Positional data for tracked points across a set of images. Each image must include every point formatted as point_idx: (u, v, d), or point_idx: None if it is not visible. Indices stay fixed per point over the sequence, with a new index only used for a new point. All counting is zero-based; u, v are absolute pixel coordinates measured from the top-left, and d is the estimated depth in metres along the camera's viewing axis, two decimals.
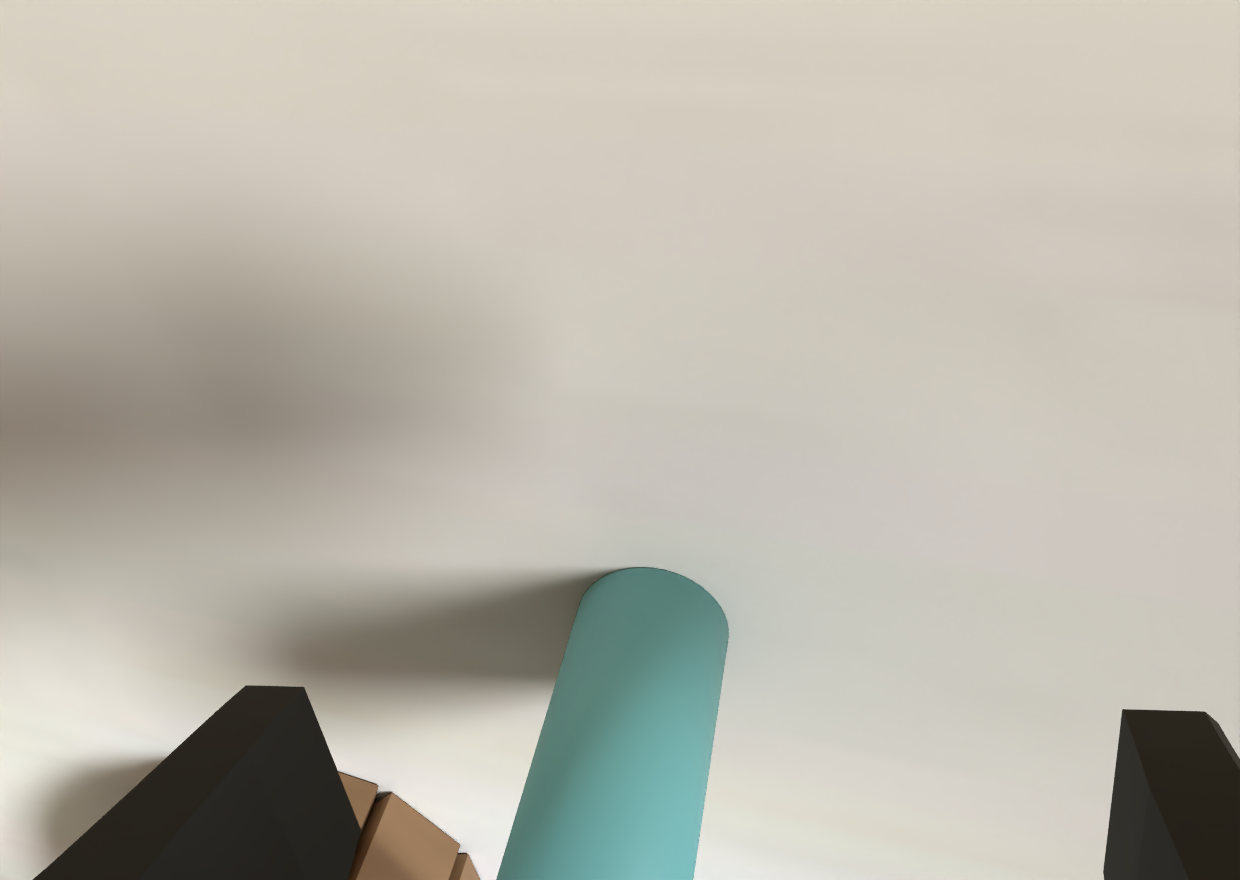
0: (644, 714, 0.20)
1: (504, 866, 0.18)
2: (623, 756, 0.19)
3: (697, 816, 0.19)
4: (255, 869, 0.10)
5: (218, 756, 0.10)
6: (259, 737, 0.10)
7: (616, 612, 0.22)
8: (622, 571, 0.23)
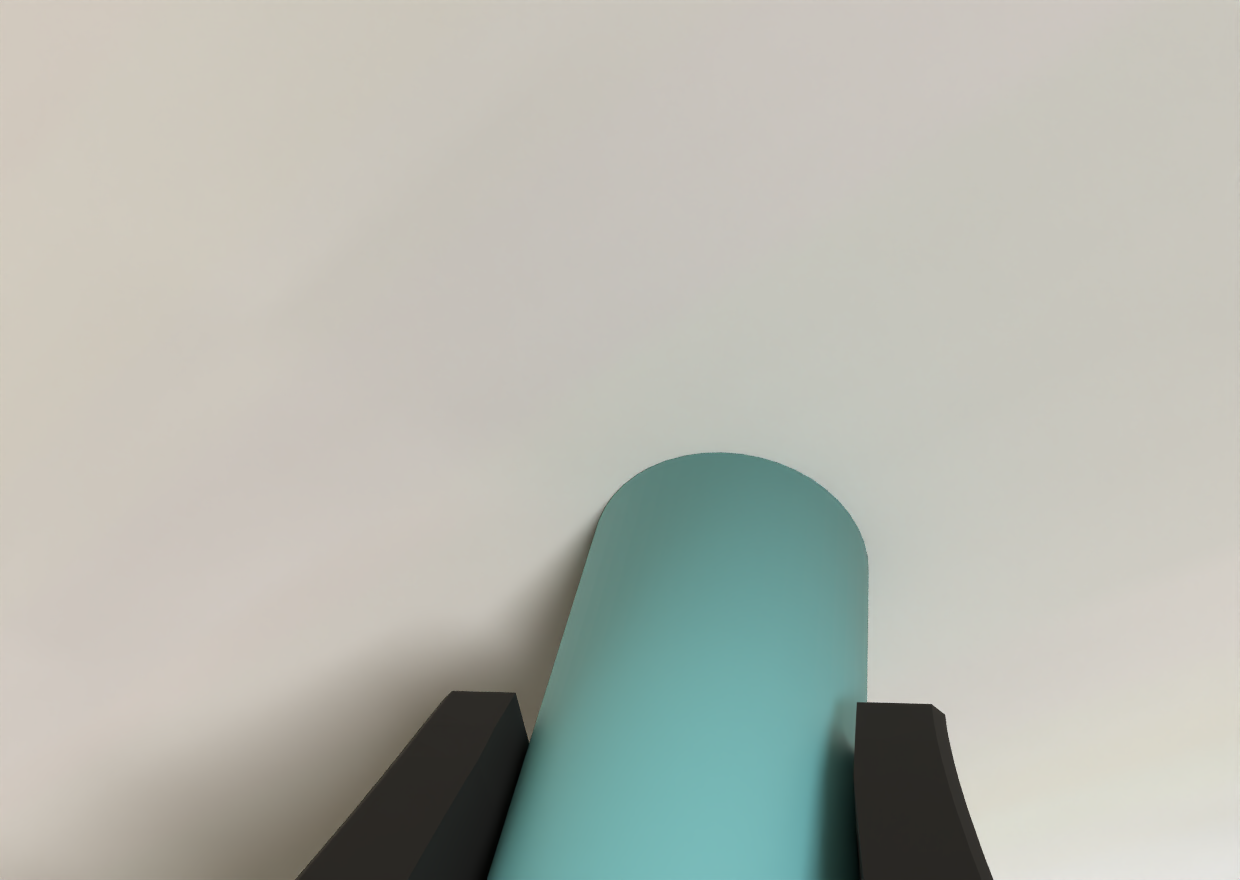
0: (599, 718, 0.09)
1: None
2: (553, 824, 0.09)
3: (777, 859, 0.08)
4: None
5: (448, 766, 0.09)
6: (485, 746, 0.10)
7: None
8: (604, 513, 0.13)
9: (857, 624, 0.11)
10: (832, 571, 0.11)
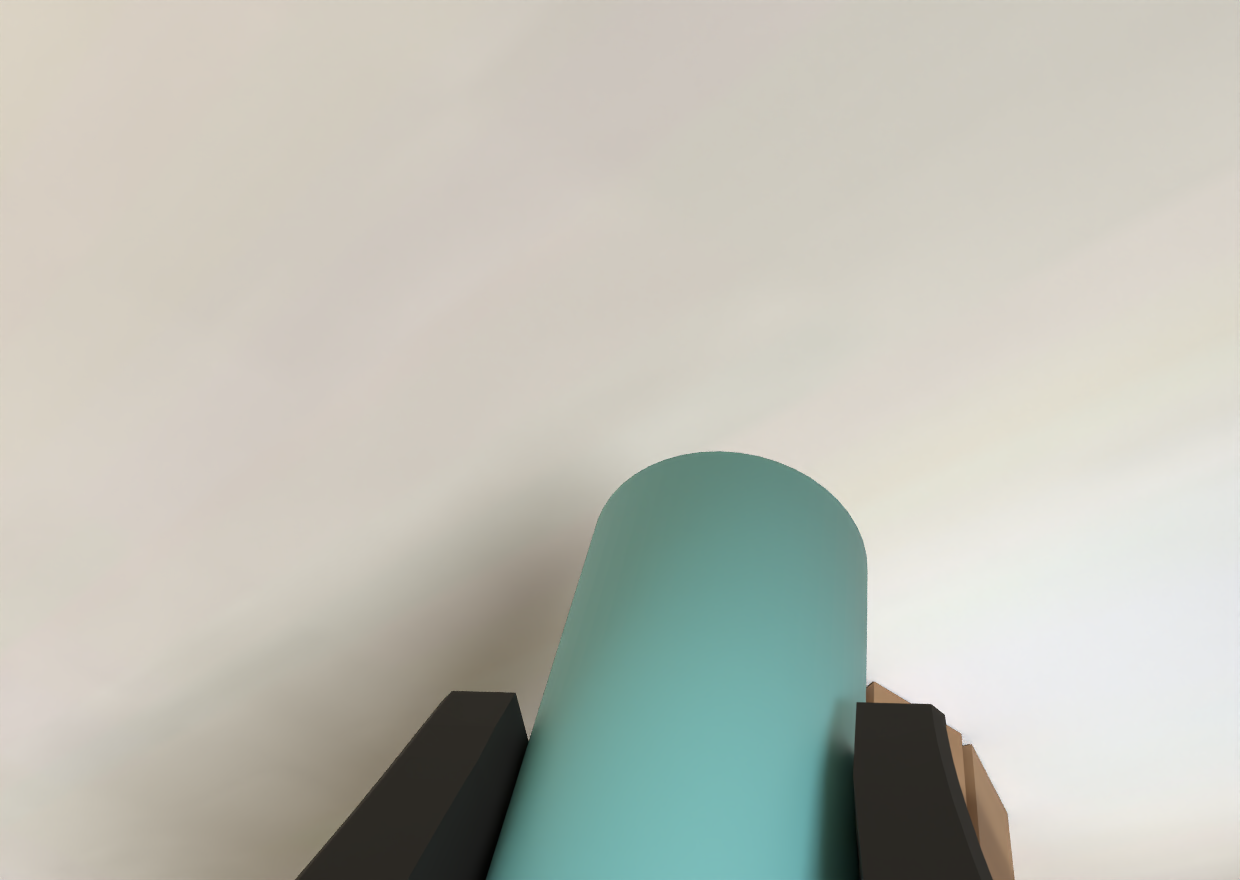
0: (598, 717, 0.09)
1: None
2: (553, 822, 0.09)
3: (777, 857, 0.08)
4: None
5: (448, 766, 0.09)
6: (485, 746, 0.10)
7: (585, 577, 0.12)
8: (603, 512, 0.13)
9: (856, 623, 0.11)
10: (831, 570, 0.11)
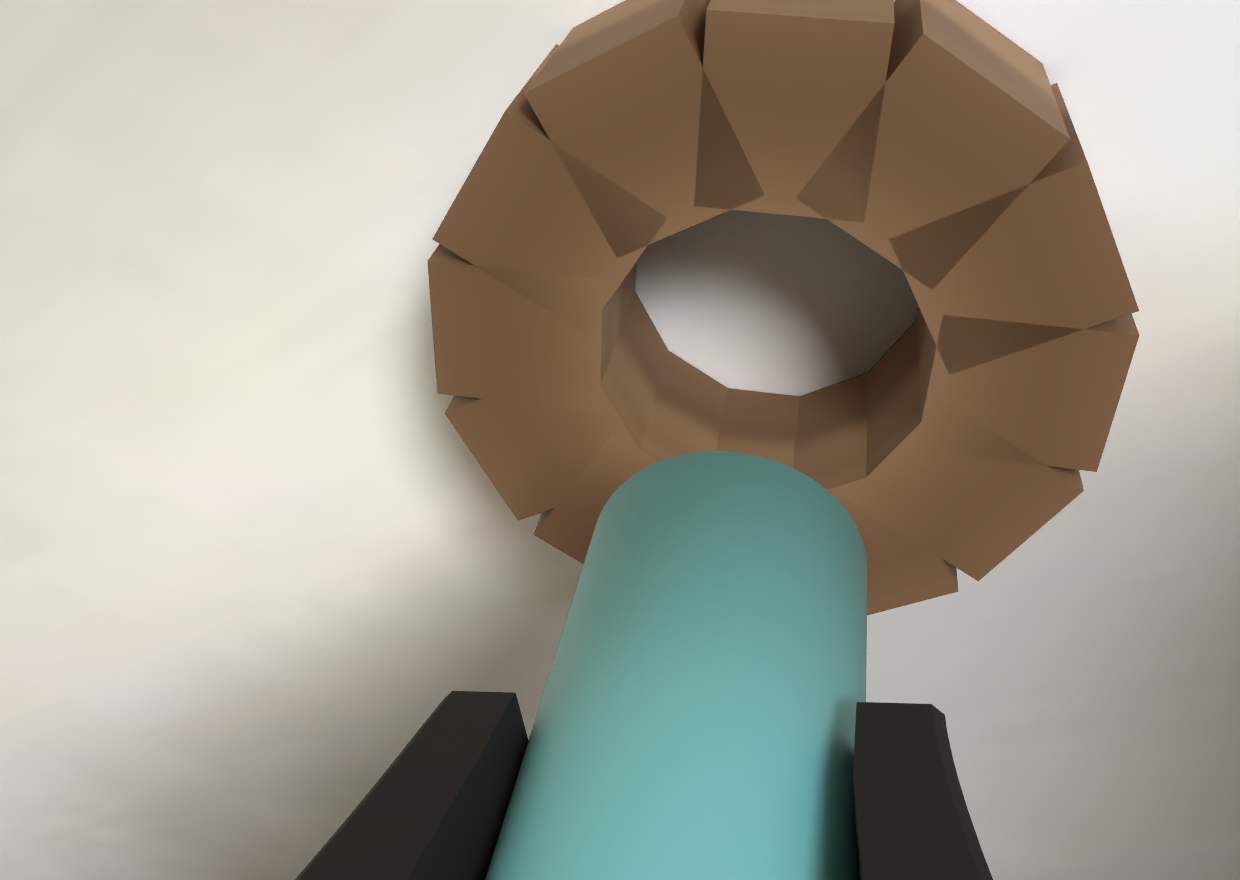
0: (599, 717, 0.09)
1: None
2: (553, 822, 0.09)
3: (777, 857, 0.08)
4: None
5: (447, 766, 0.09)
6: (484, 746, 0.10)
7: (585, 577, 0.12)
8: (603, 511, 0.13)
9: (856, 622, 0.11)
10: (831, 569, 0.11)
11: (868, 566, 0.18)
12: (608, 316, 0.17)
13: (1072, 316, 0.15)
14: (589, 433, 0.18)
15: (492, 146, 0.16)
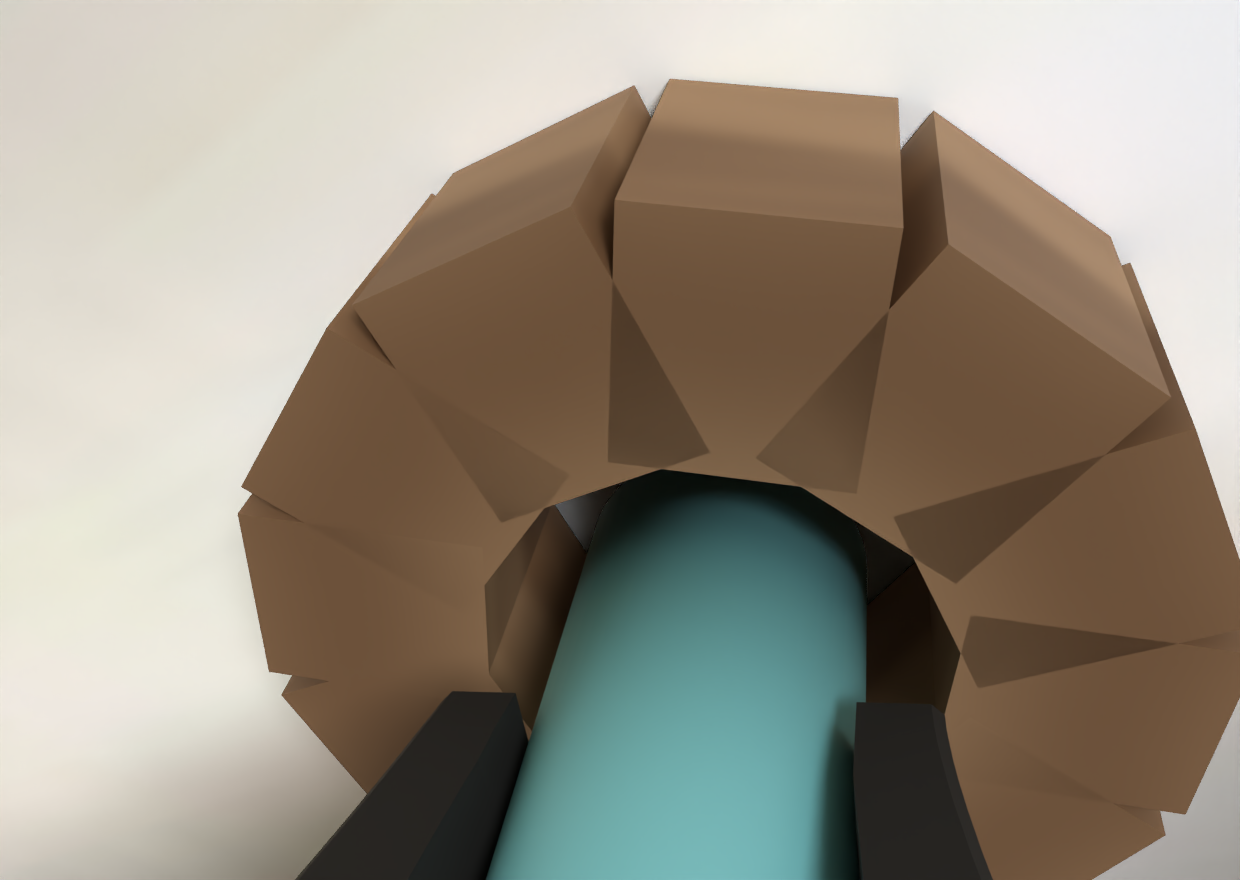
0: (599, 717, 0.09)
1: None
2: (553, 822, 0.09)
3: (777, 857, 0.08)
4: None
5: (447, 766, 0.09)
6: (484, 746, 0.10)
7: (585, 577, 0.12)
8: (603, 512, 0.13)
9: (856, 623, 0.11)
10: (831, 570, 0.11)
11: None
12: (499, 580, 0.12)
13: (1161, 626, 0.11)
14: None
15: (313, 372, 0.11)
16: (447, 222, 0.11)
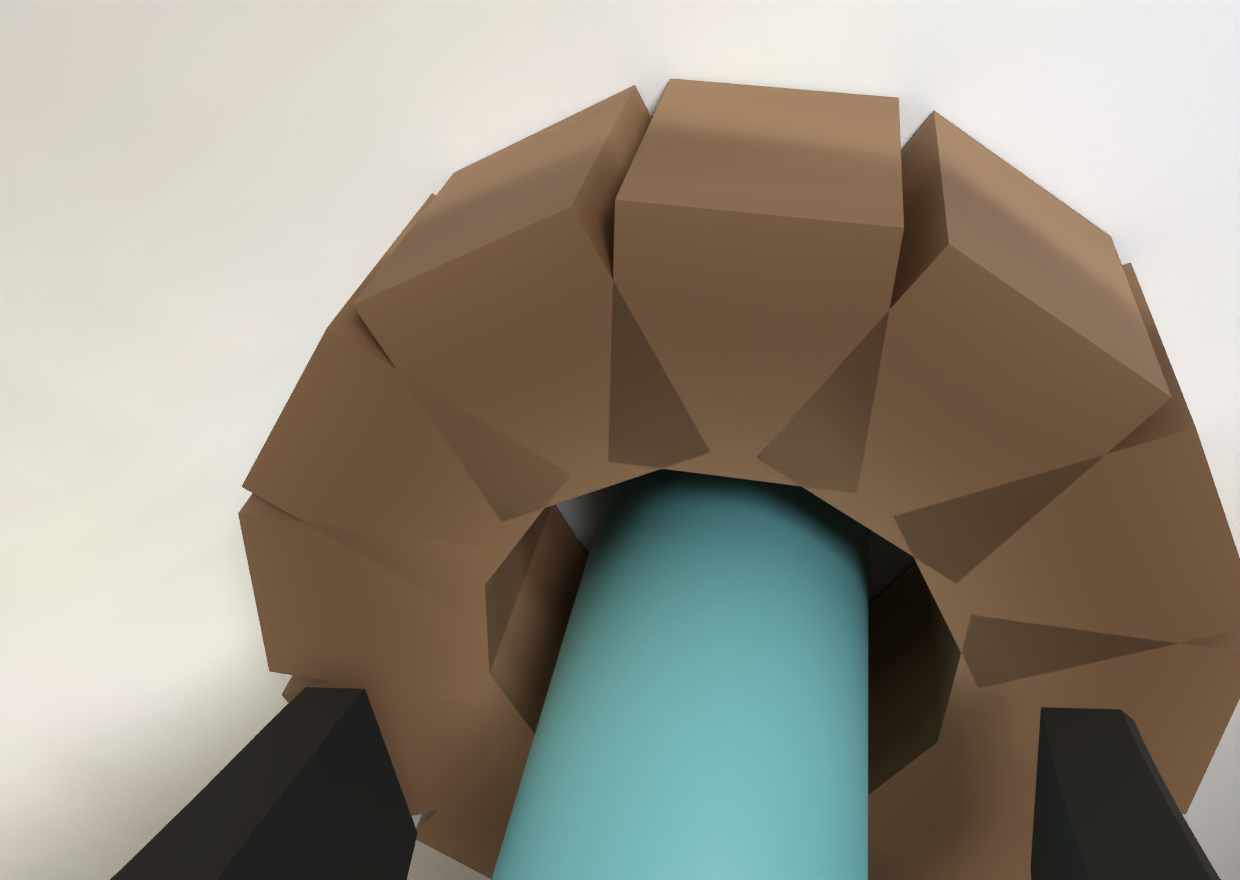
0: (633, 596, 0.11)
1: None
2: (596, 680, 0.10)
3: (793, 705, 0.10)
4: (321, 874, 0.10)
5: (284, 759, 0.10)
6: (324, 740, 0.10)
7: None
8: None
9: (859, 527, 0.13)
10: None
11: None
12: (499, 579, 0.12)
13: (1162, 626, 0.11)
14: (478, 728, 0.13)
15: (313, 372, 0.11)
16: (448, 222, 0.11)
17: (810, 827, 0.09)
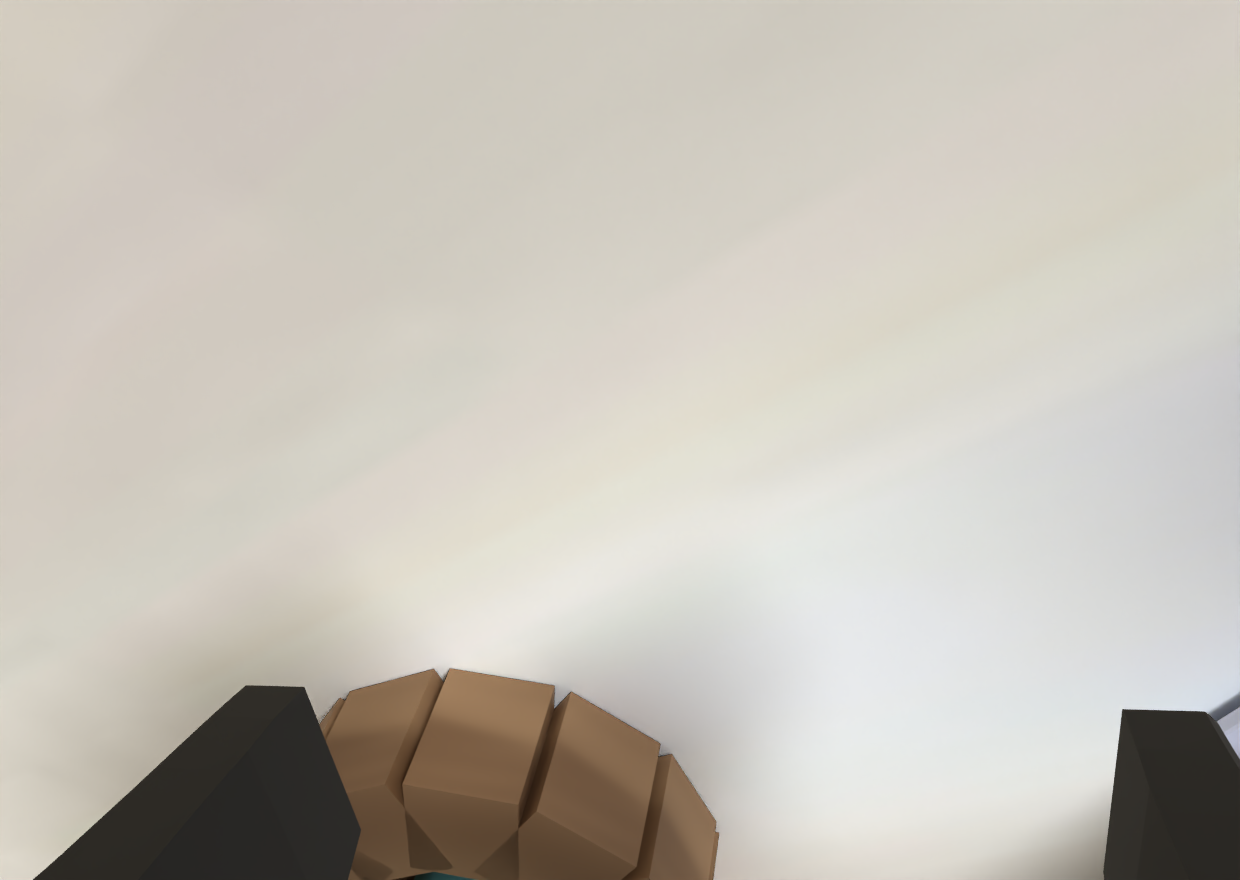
0: None
1: None
2: None
3: None
4: (255, 869, 0.10)
5: (218, 756, 0.10)
6: (259, 737, 0.10)
7: None
8: None
9: None
10: None
11: None
12: None
13: None
14: None
15: None
16: (340, 751, 0.24)
17: None
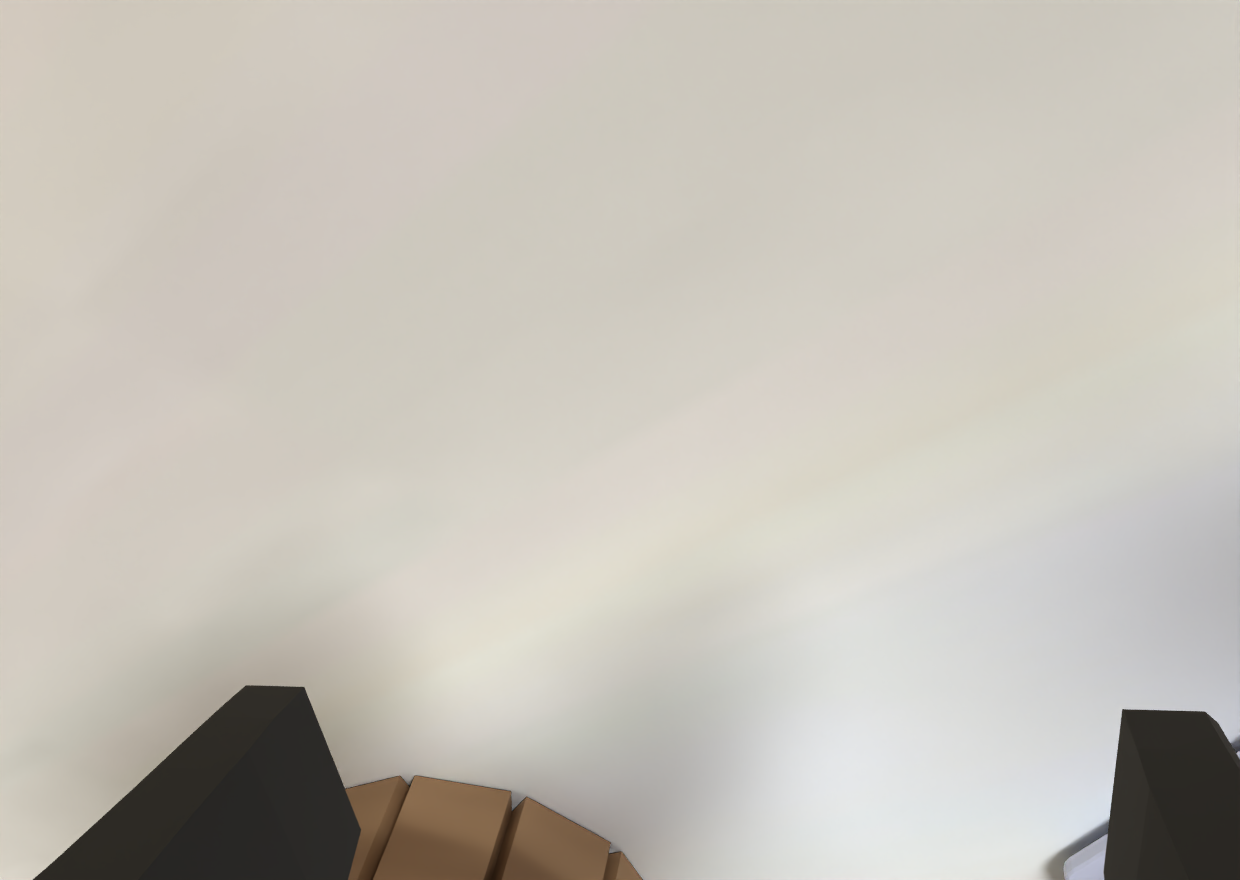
0: None
1: None
2: None
3: None
4: (255, 869, 0.10)
5: (218, 756, 0.10)
6: (259, 737, 0.10)
7: None
8: None
9: None
10: None
11: None
12: None
13: None
14: None
15: None
16: None
17: None
